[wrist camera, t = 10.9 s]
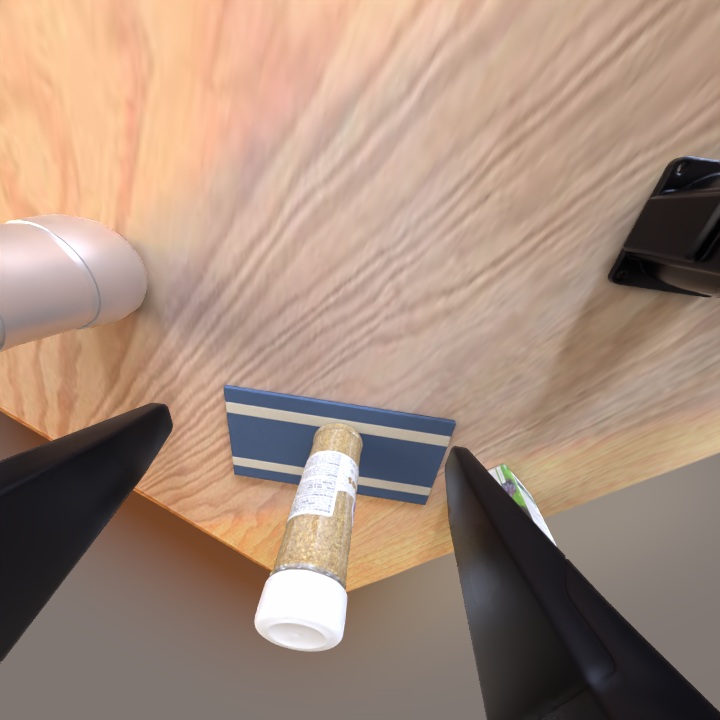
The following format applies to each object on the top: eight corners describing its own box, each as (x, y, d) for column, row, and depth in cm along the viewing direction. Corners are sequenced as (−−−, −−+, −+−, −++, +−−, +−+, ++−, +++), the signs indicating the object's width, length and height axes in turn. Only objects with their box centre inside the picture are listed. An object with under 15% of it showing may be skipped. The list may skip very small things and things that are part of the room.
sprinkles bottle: (364, 457, 26) (347, 659, 15) (317, 457, 27) (263, 651, 15) (361, 419, 24) (337, 619, 12) (309, 419, 25) (240, 612, 13)
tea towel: (455, 420, 24) (456, 423, 24) (424, 501, 29) (425, 505, 29) (225, 384, 24) (223, 387, 24) (236, 471, 29) (234, 474, 29)
